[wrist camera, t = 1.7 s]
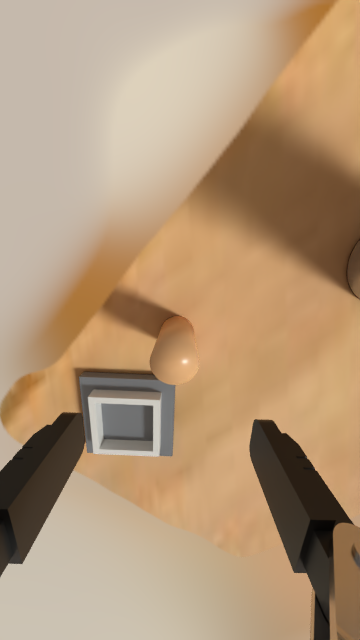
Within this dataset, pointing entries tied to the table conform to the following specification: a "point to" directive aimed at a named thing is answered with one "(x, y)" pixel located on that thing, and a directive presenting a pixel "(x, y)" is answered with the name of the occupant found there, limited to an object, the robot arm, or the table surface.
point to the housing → (127, 414)
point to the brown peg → (175, 352)
